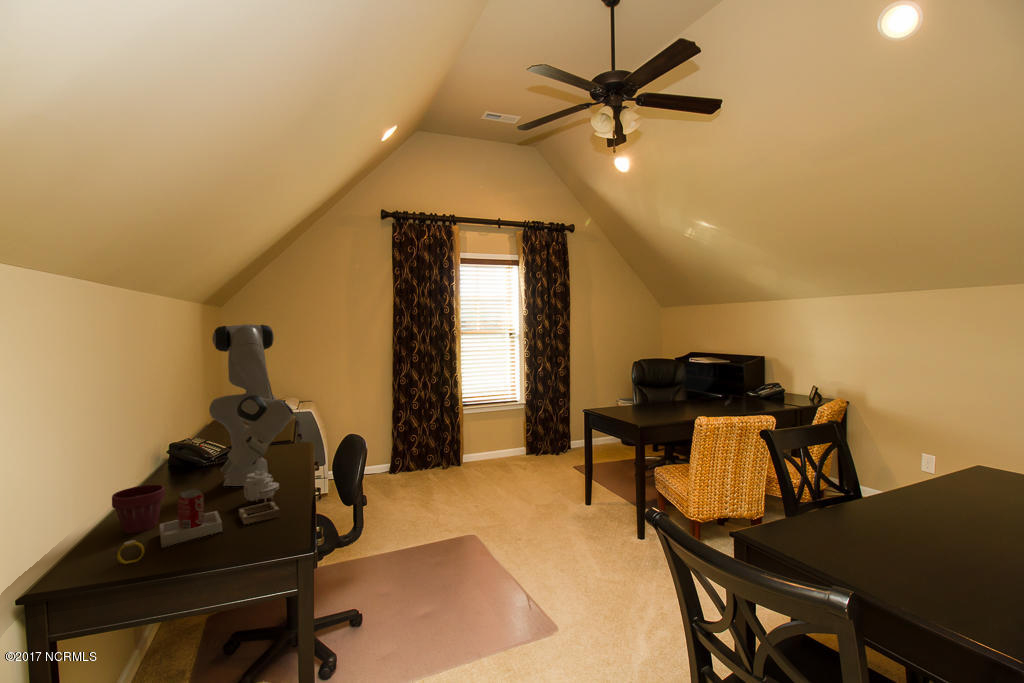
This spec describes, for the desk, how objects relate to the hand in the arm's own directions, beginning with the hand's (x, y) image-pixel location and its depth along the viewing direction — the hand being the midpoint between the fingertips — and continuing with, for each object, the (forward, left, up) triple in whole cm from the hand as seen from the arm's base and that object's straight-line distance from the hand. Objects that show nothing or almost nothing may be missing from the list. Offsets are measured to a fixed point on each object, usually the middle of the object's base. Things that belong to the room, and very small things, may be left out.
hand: (223, 475), depth 159 cm
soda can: (-2, -10, -15) cm, 18 cm away
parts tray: (0, -10, -17) cm, 20 cm away
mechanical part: (-17, +14, -17) cm, 28 cm away
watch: (+12, -25, -17) cm, 33 cm away
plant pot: (-18, -23, -17) cm, 34 cm away
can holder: (0, +10, -17) cm, 20 cm away
